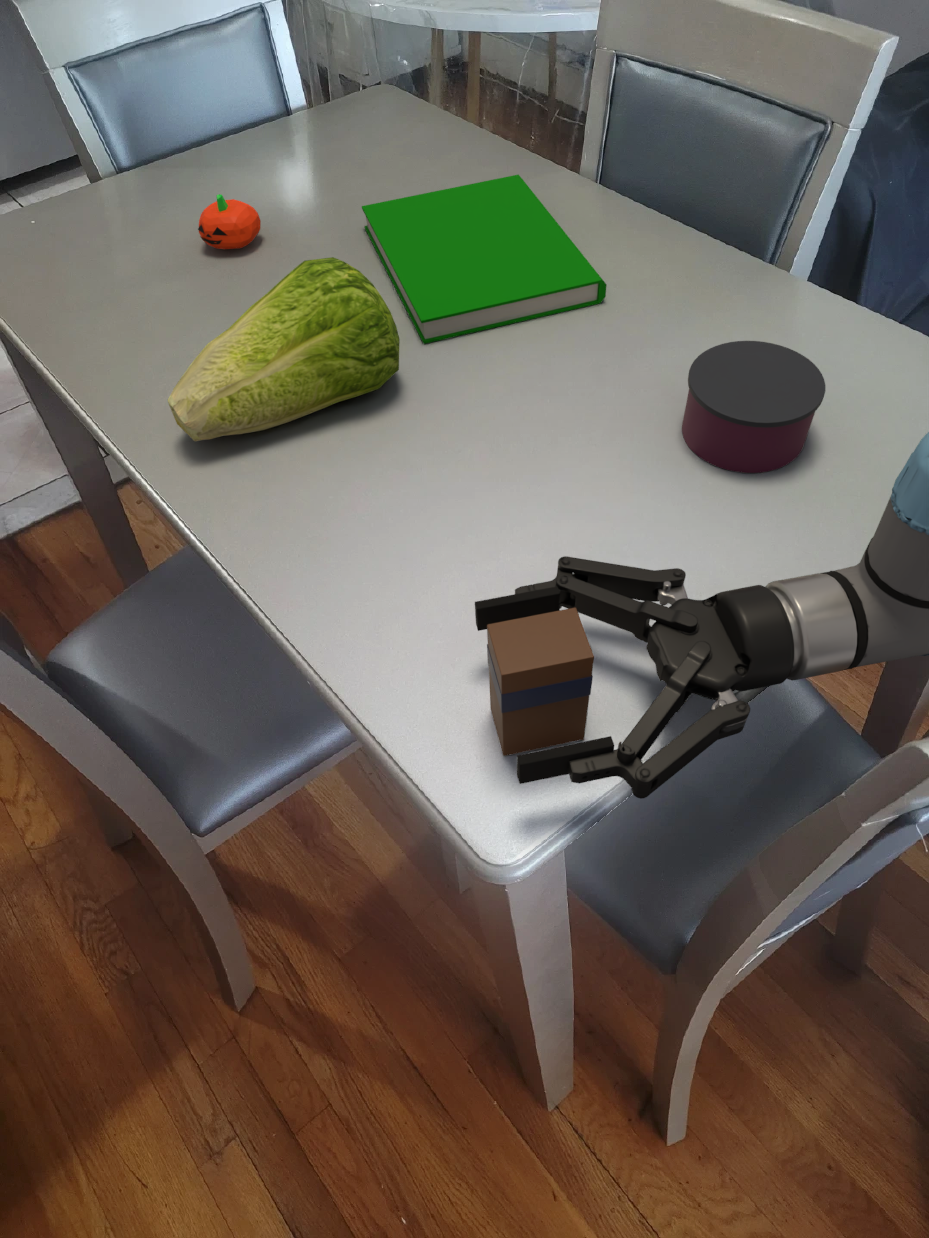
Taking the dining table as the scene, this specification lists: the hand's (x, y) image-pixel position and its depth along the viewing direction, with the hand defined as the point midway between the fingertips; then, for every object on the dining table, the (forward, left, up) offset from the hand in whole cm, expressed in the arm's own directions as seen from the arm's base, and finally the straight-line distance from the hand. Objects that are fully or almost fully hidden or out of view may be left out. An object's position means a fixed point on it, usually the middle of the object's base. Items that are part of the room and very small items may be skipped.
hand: (495, 688), depth 62 cm
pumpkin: (+78, -26, -6) cm, 83 cm away
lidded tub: (+8, -42, -6) cm, 43 cm away
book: (+51, -45, -6) cm, 68 cm away
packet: (-2, -3, -6) cm, 7 cm away
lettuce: (+45, -12, -6) cm, 47 cm away
